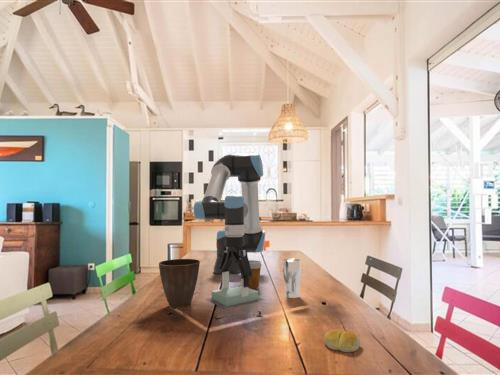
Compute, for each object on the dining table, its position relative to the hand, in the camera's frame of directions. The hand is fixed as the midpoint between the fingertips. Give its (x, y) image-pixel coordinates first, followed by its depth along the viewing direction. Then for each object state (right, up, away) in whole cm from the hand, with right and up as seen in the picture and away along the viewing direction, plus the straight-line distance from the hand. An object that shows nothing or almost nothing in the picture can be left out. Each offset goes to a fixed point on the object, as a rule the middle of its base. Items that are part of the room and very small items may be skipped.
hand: (234, 292), depth 131 cm
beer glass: (+22, -4, +4) cm, 23 cm away
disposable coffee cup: (+6, -5, +18) cm, 19 cm away
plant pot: (-20, -4, -4) cm, 21 cm away
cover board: (0, -3, 0) cm, 3 cm away
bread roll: (+30, -2, -40) cm, 50 cm away
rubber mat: (0, -4, 0) cm, 4 cm away
